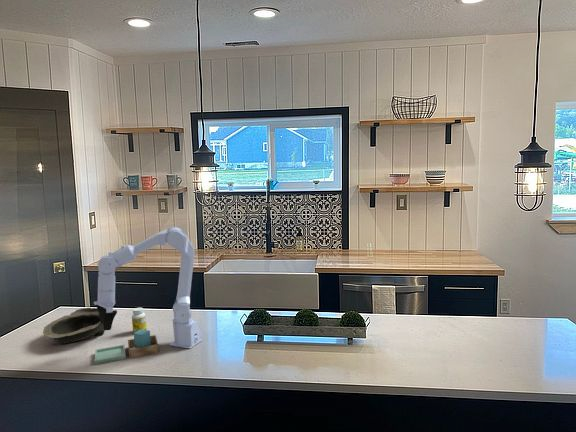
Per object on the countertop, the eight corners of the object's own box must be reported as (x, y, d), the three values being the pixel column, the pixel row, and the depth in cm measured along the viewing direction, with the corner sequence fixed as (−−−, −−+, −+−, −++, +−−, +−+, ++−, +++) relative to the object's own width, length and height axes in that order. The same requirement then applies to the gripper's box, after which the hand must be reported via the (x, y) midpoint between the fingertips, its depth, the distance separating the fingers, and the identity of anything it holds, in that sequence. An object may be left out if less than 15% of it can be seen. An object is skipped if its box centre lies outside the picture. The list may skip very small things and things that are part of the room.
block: (151, 348, 165) (149, 330, 165) (143, 353, 162) (142, 334, 161) (142, 347, 167) (141, 329, 166) (135, 351, 163) (133, 333, 162)
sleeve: (156, 342, 171) (155, 335, 170) (158, 352, 162) (158, 344, 161) (128, 347, 167) (127, 339, 167) (129, 358, 158) (128, 350, 158)
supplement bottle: (149, 330, 184) (147, 307, 182) (139, 335, 179) (137, 312, 178) (140, 328, 186) (138, 306, 185) (130, 333, 182) (128, 310, 180)
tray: (124, 348, 167) (124, 344, 167) (125, 358, 158) (125, 354, 157) (95, 353, 163) (95, 349, 163) (95, 364, 154) (94, 360, 154)
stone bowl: (122, 325, 190) (120, 304, 189) (92, 355, 166) (88, 332, 164) (68, 324, 193) (64, 304, 191) (30, 354, 169) (26, 331, 167)
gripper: (91, 285, 163) (90, 321, 164) (97, 295, 150) (96, 334, 152) (111, 283, 166) (110, 319, 168) (119, 293, 154) (118, 331, 155)
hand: (105, 326), depth 160 cm, fingers open, 7 cm apart
